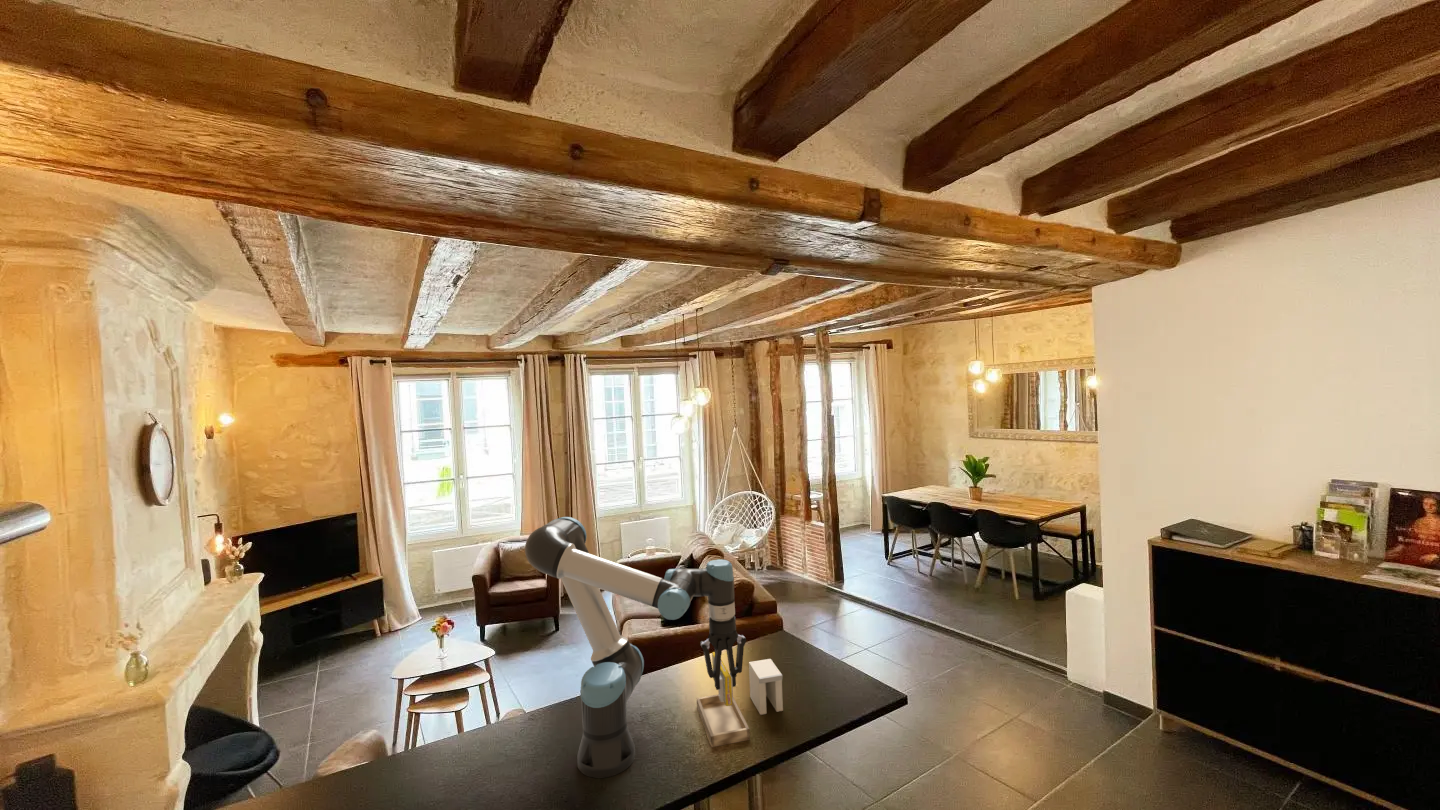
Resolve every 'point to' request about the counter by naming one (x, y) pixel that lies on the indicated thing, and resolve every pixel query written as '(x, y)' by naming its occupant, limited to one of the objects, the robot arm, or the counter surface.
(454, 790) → the counter surface
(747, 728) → the tray
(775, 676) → the white box
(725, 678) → the candy box
